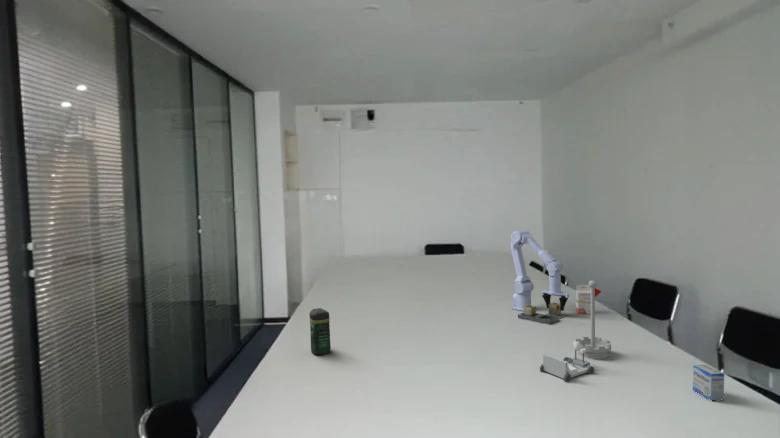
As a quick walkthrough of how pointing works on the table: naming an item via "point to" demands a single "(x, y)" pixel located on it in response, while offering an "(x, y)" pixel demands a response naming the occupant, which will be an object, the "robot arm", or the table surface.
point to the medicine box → (708, 382)
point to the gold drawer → (530, 310)
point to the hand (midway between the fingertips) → (555, 309)
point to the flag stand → (595, 344)
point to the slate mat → (559, 316)
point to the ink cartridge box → (583, 299)
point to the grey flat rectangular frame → (540, 318)
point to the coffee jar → (320, 331)
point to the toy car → (567, 365)
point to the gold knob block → (554, 309)
